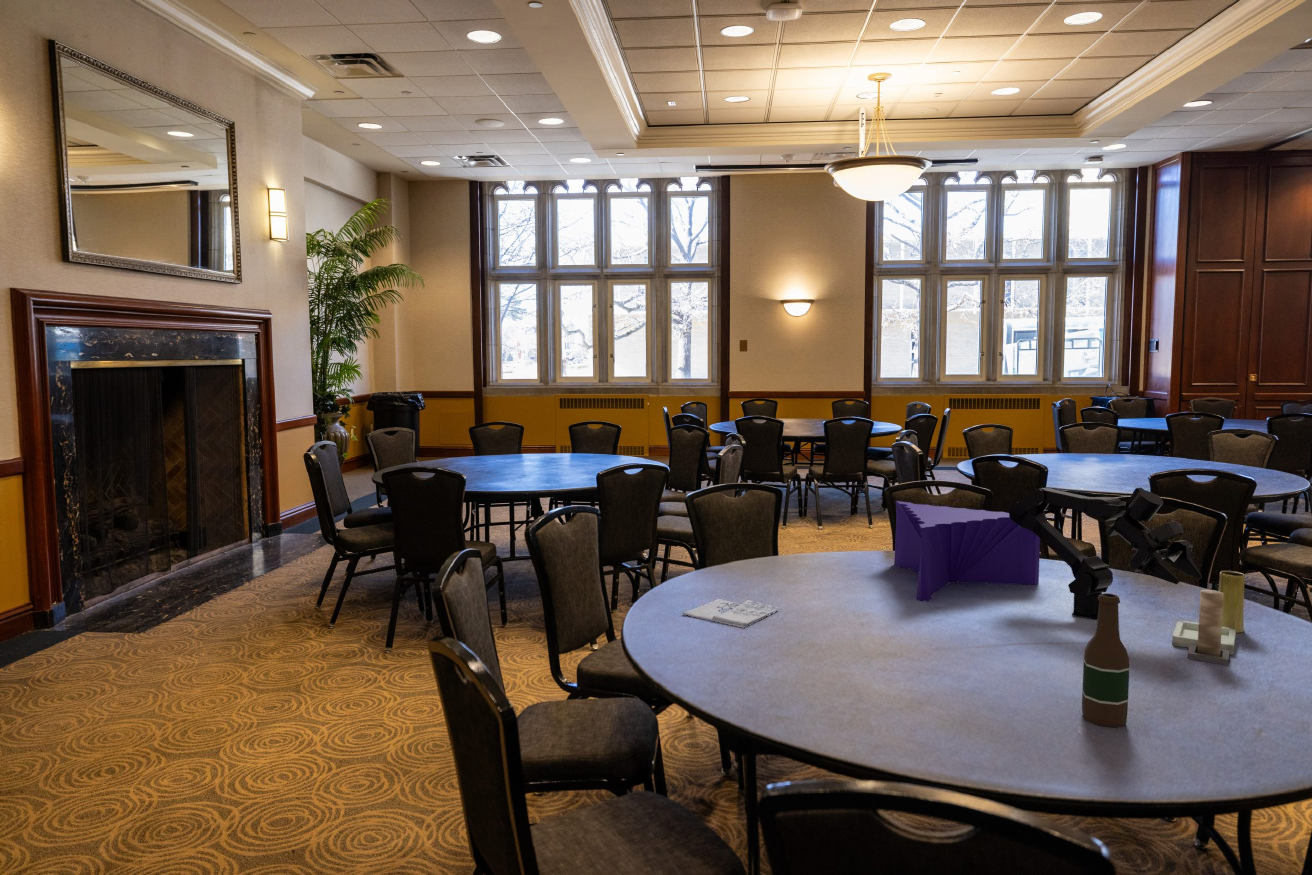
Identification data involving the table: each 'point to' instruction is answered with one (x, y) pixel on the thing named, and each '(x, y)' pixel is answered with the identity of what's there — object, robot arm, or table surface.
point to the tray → (1189, 635)
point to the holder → (1208, 658)
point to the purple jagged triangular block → (963, 547)
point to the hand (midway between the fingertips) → (1189, 580)
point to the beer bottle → (1106, 669)
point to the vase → (1232, 599)
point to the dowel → (1210, 622)
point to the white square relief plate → (732, 612)
